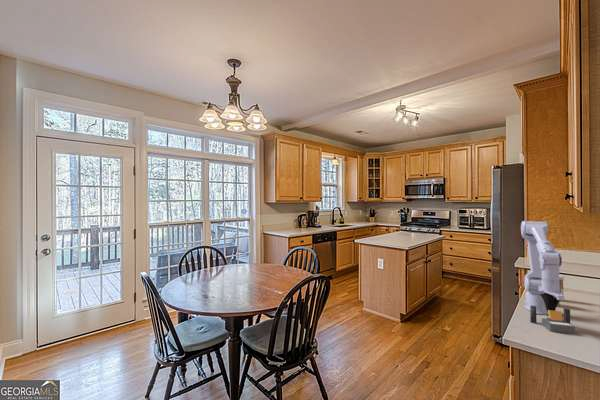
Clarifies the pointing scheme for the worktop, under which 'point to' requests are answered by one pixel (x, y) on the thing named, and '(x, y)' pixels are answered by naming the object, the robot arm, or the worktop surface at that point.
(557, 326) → the breaker box
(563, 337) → the worktop surface
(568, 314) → the cylinder
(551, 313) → the breaker paddle
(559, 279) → the sprinkles bottle
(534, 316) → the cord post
